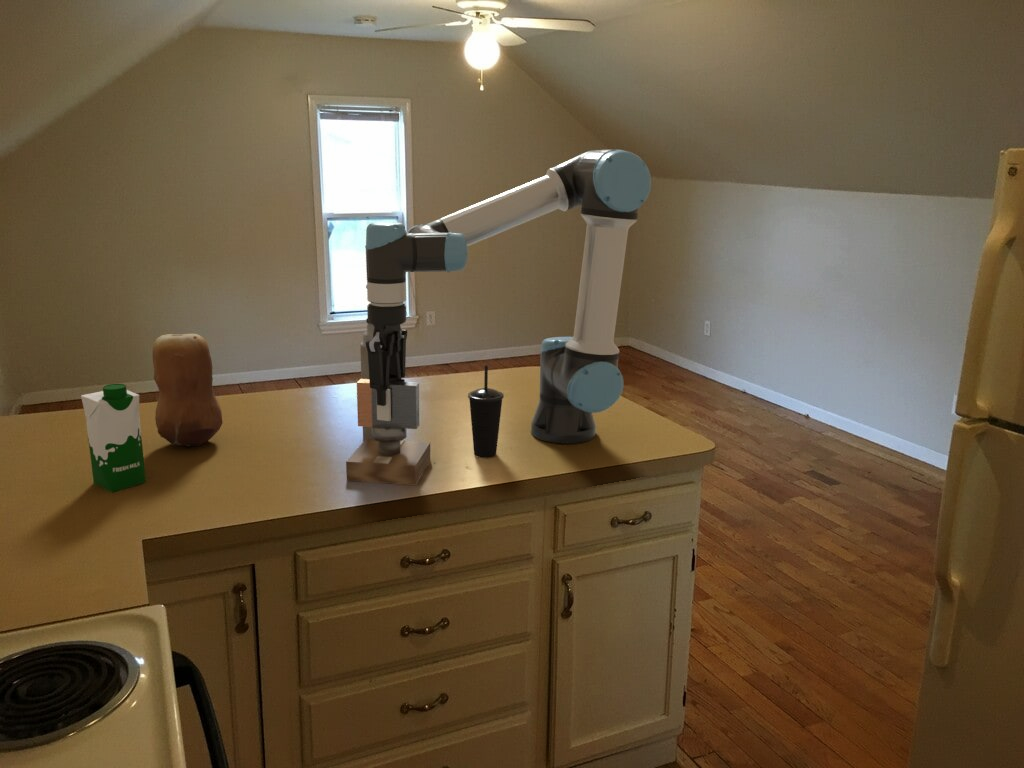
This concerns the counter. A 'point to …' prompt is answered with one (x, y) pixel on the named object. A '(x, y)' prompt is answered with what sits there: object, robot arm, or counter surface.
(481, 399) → the drinking cup
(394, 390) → the coupling
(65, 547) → the counter surface
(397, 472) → the post block
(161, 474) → the counter surface
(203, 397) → the butternut squash
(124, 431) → the milk carton
